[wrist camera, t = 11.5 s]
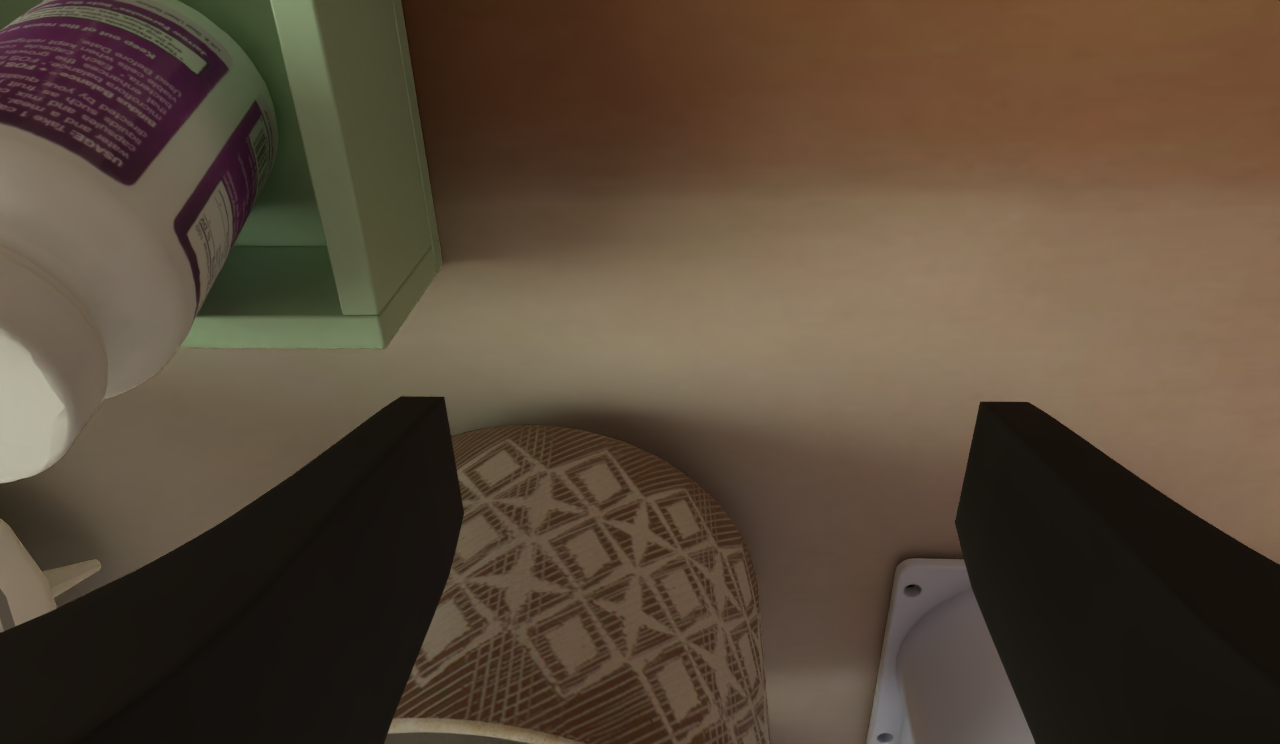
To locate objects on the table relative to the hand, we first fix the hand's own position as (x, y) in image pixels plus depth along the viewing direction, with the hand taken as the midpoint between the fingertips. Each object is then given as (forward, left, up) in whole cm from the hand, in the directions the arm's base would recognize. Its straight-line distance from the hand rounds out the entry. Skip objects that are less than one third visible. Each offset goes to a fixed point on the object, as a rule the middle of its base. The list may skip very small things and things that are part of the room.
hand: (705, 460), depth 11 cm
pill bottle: (+3, +12, -9) cm, 16 cm away
